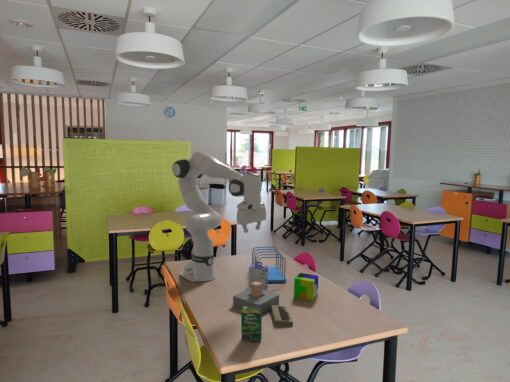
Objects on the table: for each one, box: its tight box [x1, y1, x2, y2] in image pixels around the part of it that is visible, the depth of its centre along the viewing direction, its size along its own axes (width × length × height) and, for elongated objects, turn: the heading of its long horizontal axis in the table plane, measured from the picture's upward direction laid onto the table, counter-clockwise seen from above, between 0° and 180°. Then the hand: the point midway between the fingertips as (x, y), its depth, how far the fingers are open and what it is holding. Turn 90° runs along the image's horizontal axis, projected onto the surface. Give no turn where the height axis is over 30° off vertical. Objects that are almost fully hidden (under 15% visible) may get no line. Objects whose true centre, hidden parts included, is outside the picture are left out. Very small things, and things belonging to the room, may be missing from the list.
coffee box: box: [240, 306, 263, 343], centre depth 141 cm, size 8×3×13 cm, turn 76°
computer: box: [270, 305, 294, 327], centre depth 161 cm, size 16×8×3 cm, turn 4°
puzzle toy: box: [293, 272, 319, 301], centre depth 188 cm, size 10×10×10 cm
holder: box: [232, 288, 280, 315], centre depth 174 cm, size 16×16×5 cm
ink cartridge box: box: [247, 261, 269, 291], centre depth 196 cm, size 10×6×14 cm, turn 78°
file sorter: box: [251, 246, 287, 284], centre depth 217 cm, size 25×17×15 cm
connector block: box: [251, 281, 262, 299], centre depth 174 cm, size 4×4×10 cm
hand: (251, 231), depth 184 cm, fingers open, 8 cm apart
